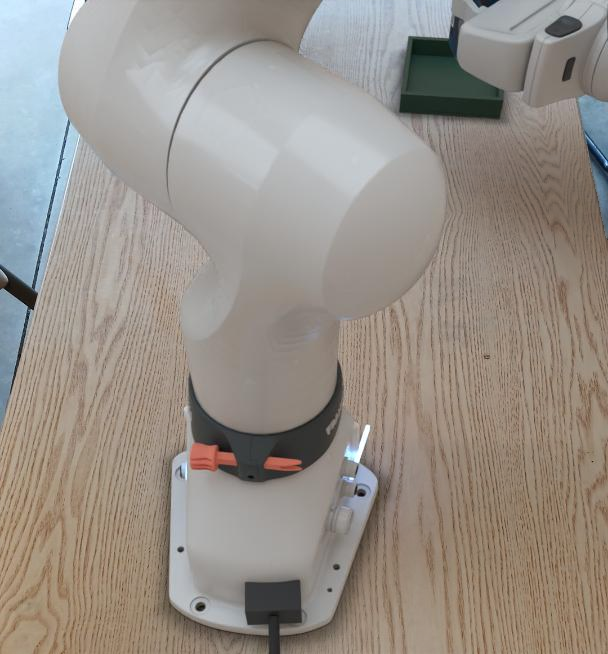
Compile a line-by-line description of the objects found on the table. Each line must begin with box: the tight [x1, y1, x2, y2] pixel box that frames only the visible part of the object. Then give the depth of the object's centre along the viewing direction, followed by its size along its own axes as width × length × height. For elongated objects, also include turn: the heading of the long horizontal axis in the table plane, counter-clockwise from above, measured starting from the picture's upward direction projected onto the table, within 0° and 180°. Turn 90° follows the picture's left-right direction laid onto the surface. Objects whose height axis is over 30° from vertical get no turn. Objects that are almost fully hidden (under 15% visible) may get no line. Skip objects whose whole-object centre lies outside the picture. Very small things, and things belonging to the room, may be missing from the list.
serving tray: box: [398, 35, 505, 120], centre depth 103 cm, size 12×12×2 cm
